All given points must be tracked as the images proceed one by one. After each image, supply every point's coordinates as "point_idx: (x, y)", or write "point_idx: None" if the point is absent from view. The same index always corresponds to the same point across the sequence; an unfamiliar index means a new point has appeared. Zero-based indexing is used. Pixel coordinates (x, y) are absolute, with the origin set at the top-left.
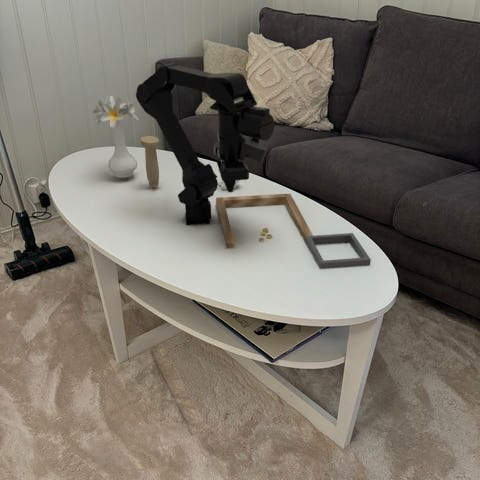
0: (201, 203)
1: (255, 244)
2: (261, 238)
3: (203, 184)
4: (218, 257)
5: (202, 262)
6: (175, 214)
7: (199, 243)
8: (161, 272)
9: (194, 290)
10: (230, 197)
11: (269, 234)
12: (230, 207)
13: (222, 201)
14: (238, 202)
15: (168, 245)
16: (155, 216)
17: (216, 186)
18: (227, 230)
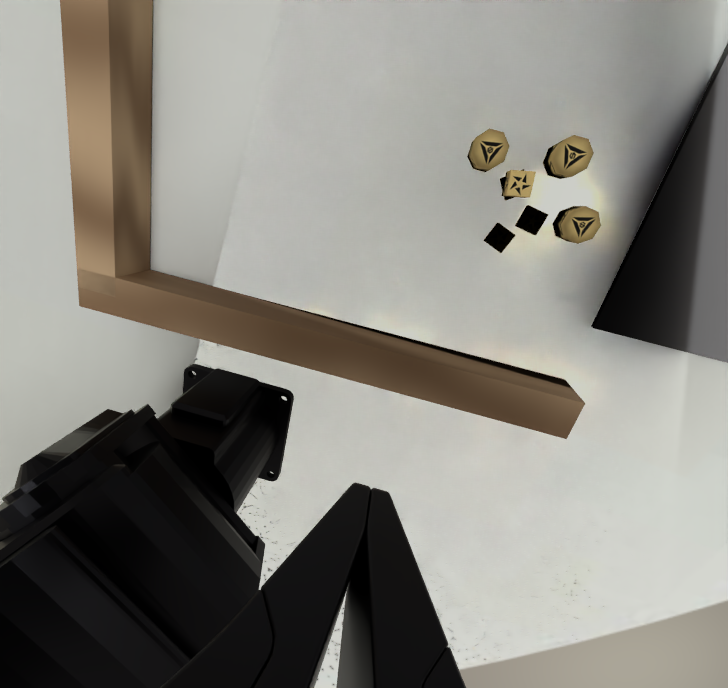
0: (232, 491)
1: (560, 259)
2: (575, 223)
3: (183, 647)
4: (569, 455)
5: (567, 516)
6: None
7: (427, 477)
8: (548, 631)
9: (721, 596)
10: (82, 224)
11: (560, 151)
12: (149, 234)
13: (127, 289)
14: (127, 185)
15: None
16: None
17: (146, 477)
18: (446, 387)
